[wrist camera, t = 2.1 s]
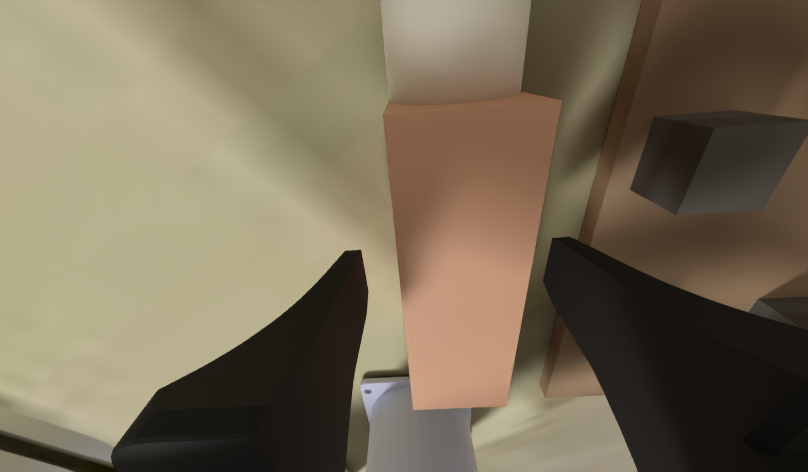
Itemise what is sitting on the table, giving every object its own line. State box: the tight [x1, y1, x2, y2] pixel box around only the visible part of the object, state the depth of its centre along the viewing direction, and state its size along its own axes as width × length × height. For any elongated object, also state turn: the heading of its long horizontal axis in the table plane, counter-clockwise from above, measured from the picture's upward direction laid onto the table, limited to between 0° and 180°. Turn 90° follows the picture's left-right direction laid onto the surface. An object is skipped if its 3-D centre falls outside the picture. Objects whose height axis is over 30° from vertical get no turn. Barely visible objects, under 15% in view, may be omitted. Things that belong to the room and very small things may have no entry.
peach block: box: [380, 0, 562, 410], centre depth 11 cm, size 15×4×6 cm, turn 4°
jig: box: [540, 0, 808, 398], centre depth 14 cm, size 24×14×4 cm, turn 4°
